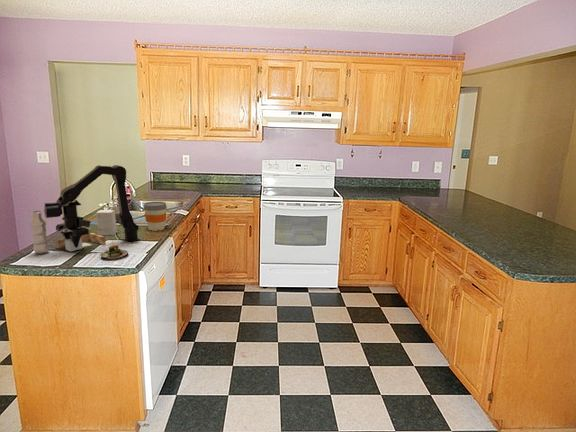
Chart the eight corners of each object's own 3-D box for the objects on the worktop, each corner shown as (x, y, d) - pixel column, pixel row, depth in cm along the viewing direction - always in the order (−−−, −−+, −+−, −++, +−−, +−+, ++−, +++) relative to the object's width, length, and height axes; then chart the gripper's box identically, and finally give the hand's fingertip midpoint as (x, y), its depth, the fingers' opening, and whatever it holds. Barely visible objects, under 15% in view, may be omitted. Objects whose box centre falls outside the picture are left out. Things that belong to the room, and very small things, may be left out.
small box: (116, 232, 224) (115, 209, 221) (113, 235, 218) (111, 212, 215) (102, 232, 223) (99, 209, 220) (97, 235, 217) (95, 212, 214)
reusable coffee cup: (169, 230, 230) (168, 205, 226) (146, 232, 225) (144, 206, 221) (165, 225, 241) (164, 201, 237) (144, 227, 236) (142, 202, 232)
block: (82, 248, 193) (81, 238, 192) (70, 251, 188) (69, 241, 187) (78, 246, 195) (77, 237, 194) (65, 249, 191) (64, 239, 189)
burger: (98, 262, 178) (96, 246, 176) (103, 253, 189) (102, 238, 187) (126, 260, 181) (125, 244, 179) (130, 252, 192) (129, 237, 190)
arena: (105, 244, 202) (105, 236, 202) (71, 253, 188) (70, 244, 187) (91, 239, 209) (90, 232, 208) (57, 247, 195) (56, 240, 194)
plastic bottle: (32, 255, 183) (26, 213, 179) (36, 251, 190) (31, 210, 185) (47, 254, 185) (42, 213, 180) (51, 250, 191) (46, 209, 187)
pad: (91, 245, 200) (91, 244, 200) (80, 248, 196) (80, 247, 195) (85, 242, 204) (85, 242, 204) (73, 245, 199) (73, 245, 199)
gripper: (98, 214, 190) (101, 246, 193) (76, 209, 200) (79, 239, 203) (75, 219, 181) (78, 251, 184) (53, 213, 190) (57, 244, 194)
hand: (74, 246), depth 192 cm, fingers closed on block, 4 cm apart
